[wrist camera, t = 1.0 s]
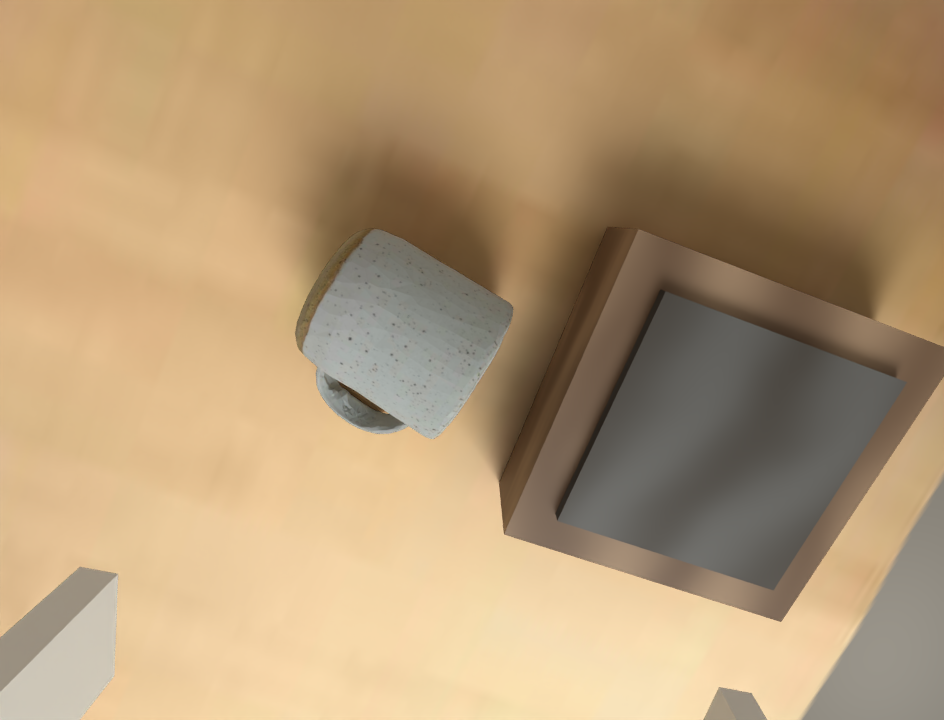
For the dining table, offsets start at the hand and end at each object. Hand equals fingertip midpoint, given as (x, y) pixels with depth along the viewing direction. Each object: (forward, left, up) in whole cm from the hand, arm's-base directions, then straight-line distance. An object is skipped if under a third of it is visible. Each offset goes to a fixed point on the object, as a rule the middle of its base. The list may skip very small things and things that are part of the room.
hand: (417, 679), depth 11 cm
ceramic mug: (-3, +2, -18) cm, 19 cm away
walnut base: (+13, +4, -18) cm, 22 cm away
